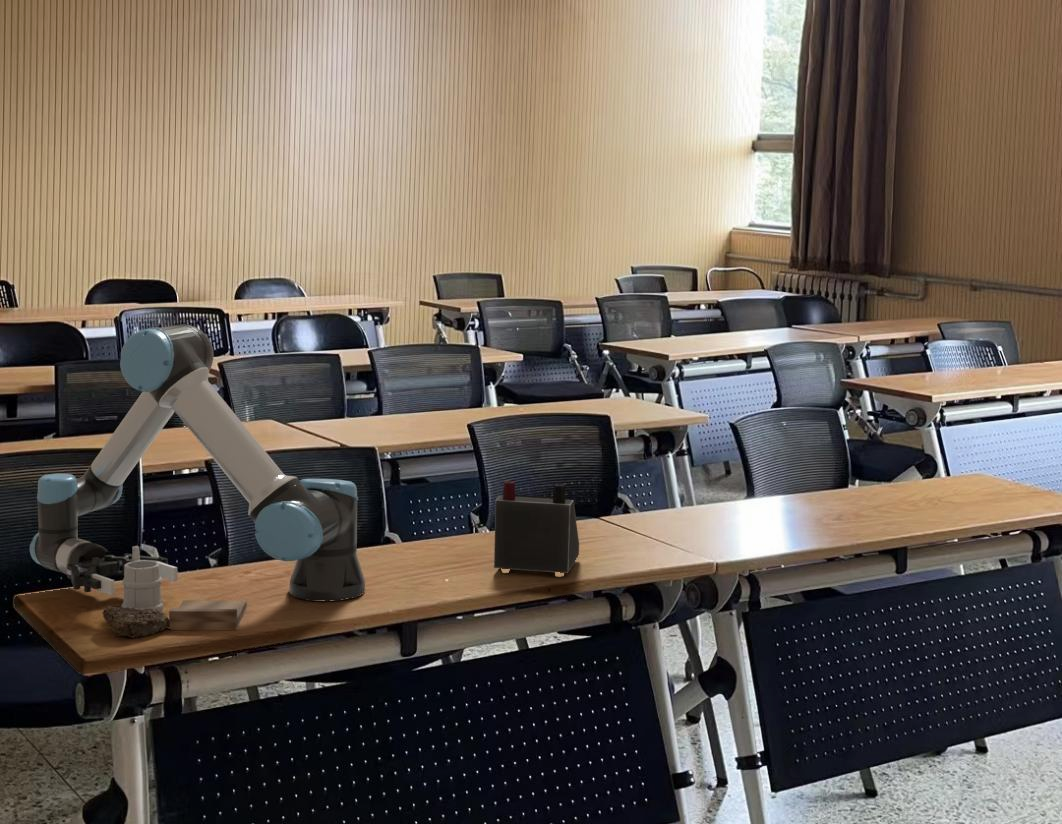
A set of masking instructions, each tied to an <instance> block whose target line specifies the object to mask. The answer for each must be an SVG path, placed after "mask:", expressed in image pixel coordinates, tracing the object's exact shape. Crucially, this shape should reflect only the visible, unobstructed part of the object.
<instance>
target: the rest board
mask: <svg viewBox="0 0 1062 824" xmlns="http://www.w3.org/2000/svg"><path fill="white" fill-rule="evenodd" d="M247 602H248V601H247V600H199V599H198V600H196V599H195V600H188V599H187V600H185V599H184V600H182V602H181V603H180V605H179V606H178V608H170V609H169V610H168V618H169V628H168V629H171V630H170V631H173V630H174V631H175V630H176V631H181V630H182V631H192V630H193V631H236V630H237V629H238V627H239V625H240V622H241V621H242V618H243V617H244V615H245V613H244V612H246V611H247V609H246V608H247V606H248V605H247V604H248V603H247ZM245 610H246V611H245ZM243 614H244V615H243Z"/></svg>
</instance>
